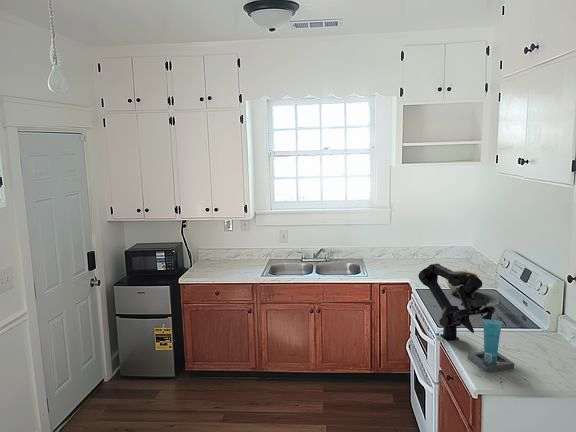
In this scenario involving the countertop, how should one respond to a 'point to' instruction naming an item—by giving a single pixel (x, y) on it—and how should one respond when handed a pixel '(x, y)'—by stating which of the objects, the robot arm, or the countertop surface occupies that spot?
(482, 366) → the grey square frame
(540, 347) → the countertop surface
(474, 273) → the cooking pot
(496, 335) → the tube
